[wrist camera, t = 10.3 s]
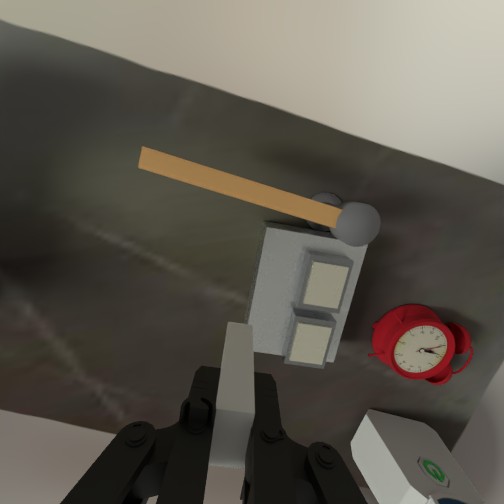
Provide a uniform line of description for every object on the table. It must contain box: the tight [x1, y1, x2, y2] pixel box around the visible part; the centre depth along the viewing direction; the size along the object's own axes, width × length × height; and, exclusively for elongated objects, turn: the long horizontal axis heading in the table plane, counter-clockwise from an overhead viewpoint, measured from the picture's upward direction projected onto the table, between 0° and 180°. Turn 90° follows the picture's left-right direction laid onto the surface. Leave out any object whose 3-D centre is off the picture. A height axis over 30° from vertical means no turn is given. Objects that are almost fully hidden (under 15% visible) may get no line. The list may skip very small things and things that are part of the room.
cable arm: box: [138, 146, 381, 247], centre depth 29 cm, size 22×4×11 cm, turn 73°
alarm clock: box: [368, 304, 473, 385], centre depth 39 cm, size 10×6×15 cm
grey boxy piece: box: [244, 192, 368, 369], centre depth 34 cm, size 12×21×7 cm, turn 170°
